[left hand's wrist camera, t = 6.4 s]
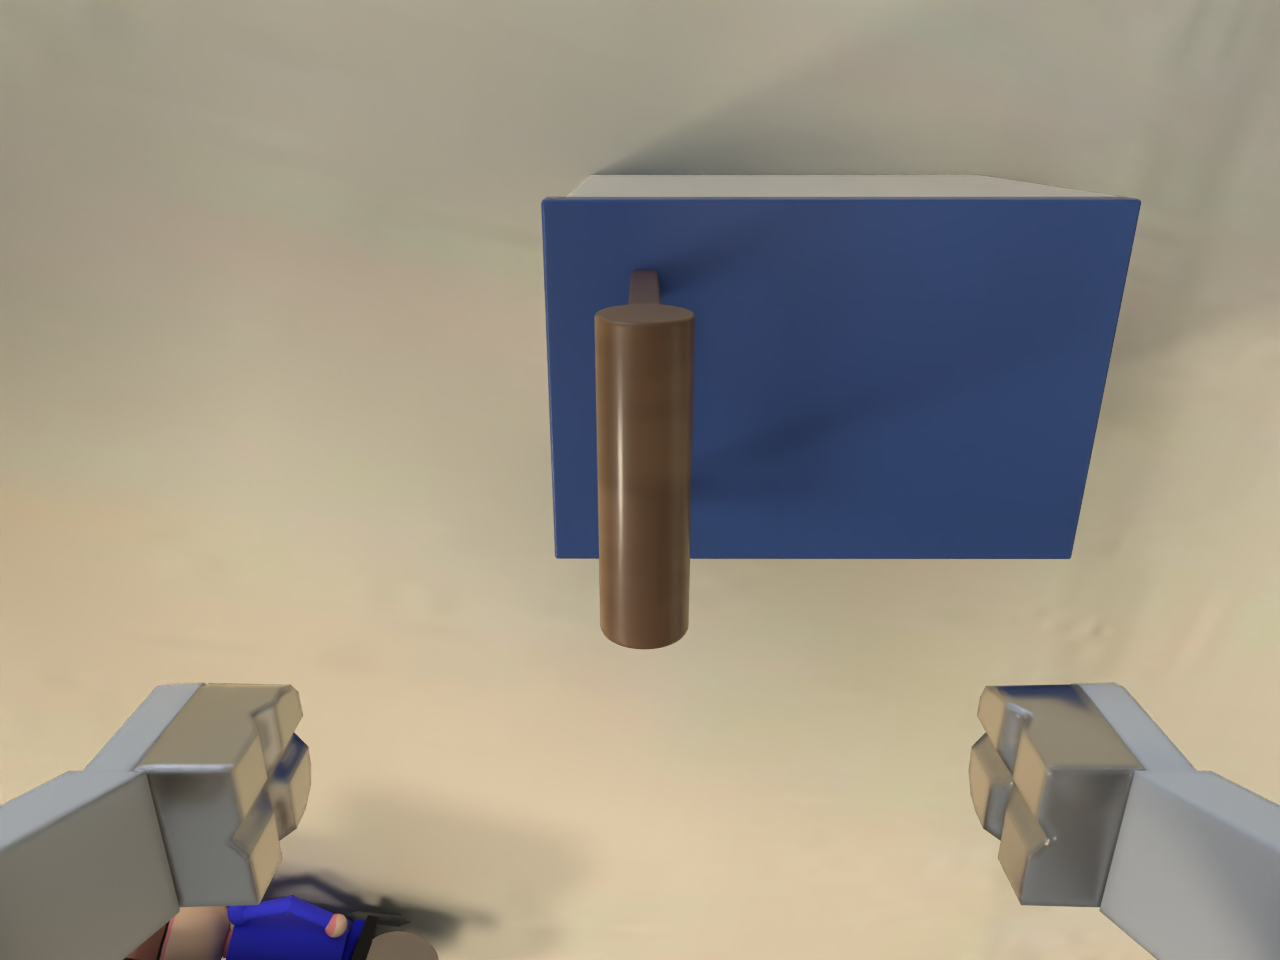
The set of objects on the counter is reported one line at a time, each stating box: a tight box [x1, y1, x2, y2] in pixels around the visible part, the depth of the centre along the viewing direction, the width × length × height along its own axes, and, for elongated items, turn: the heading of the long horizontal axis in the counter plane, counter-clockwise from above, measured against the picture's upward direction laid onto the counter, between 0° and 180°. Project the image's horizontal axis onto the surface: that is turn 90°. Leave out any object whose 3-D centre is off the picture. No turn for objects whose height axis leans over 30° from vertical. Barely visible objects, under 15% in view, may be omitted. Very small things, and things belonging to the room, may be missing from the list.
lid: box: [541, 197, 1141, 649], centre depth 21 cm, size 15×10×8 cm, turn 90°
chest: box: [567, 175, 1120, 197], centre depth 30 cm, size 14×10×11 cm
